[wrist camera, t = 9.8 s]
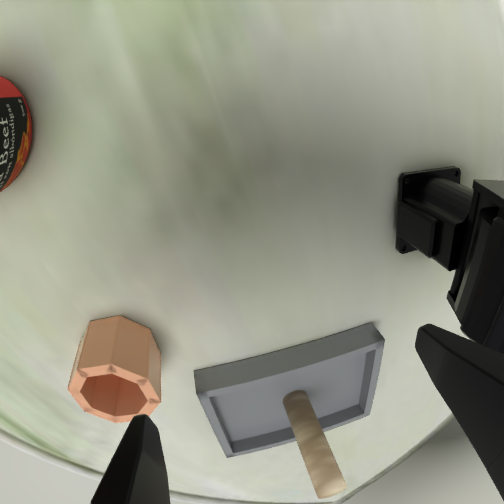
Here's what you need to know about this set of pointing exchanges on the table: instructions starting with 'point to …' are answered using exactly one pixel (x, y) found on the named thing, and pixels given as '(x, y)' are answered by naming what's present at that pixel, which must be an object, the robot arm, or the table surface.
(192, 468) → the table surface
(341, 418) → the tray
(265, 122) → the table surface
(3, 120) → the canned food
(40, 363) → the table surface
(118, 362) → the cup
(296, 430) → the dowel pin
